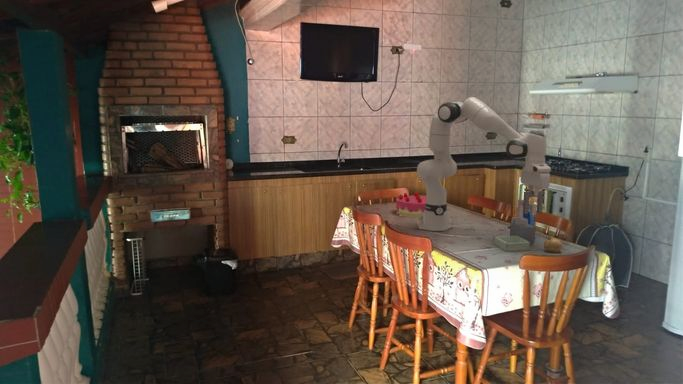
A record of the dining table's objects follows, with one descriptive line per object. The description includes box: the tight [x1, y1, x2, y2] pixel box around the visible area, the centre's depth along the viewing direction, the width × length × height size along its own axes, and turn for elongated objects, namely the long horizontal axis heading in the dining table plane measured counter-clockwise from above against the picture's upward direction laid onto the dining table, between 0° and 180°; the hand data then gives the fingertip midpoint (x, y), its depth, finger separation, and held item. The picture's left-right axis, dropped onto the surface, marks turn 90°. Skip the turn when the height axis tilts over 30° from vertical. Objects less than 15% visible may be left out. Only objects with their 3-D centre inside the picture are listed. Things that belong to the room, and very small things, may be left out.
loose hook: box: [522, 190, 544, 214], centre depth 245 cm, size 2×9×10 cm, turn 99°
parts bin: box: [493, 235, 531, 253], centre depth 247 cm, size 13×12×4 cm
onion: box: [543, 236, 563, 253], centre depth 240 cm, size 8×8×7 cm
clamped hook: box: [516, 199, 537, 219], centre depth 252 cm, size 14×2×13 cm, turn 9°
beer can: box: [523, 208, 536, 228], centre depth 267 cm, size 8×8×16 cm
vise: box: [507, 216, 536, 246], centre depth 257 cm, size 14×8×11 cm, turn 9°
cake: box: [395, 191, 426, 219], centre depth 323 cm, size 28×28×12 cm
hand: (533, 195), depth 245 cm, fingers closed on loose hook, 2 cm apart
